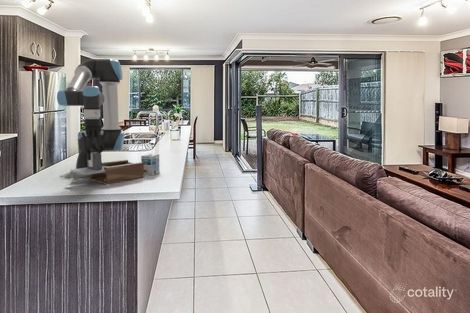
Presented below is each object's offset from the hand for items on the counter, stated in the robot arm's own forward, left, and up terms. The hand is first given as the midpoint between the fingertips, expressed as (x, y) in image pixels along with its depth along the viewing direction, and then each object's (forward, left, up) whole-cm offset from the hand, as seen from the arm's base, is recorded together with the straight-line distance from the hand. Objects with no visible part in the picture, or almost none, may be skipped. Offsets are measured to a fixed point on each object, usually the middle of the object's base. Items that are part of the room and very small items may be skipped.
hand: (94, 165), depth 193 cm
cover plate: (0, 0, -3) cm, 3 cm away
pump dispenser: (-18, +6, -9) cm, 21 cm away
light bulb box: (0, +35, -9) cm, 36 cm away
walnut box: (0, +13, -9) cm, 16 cm away
